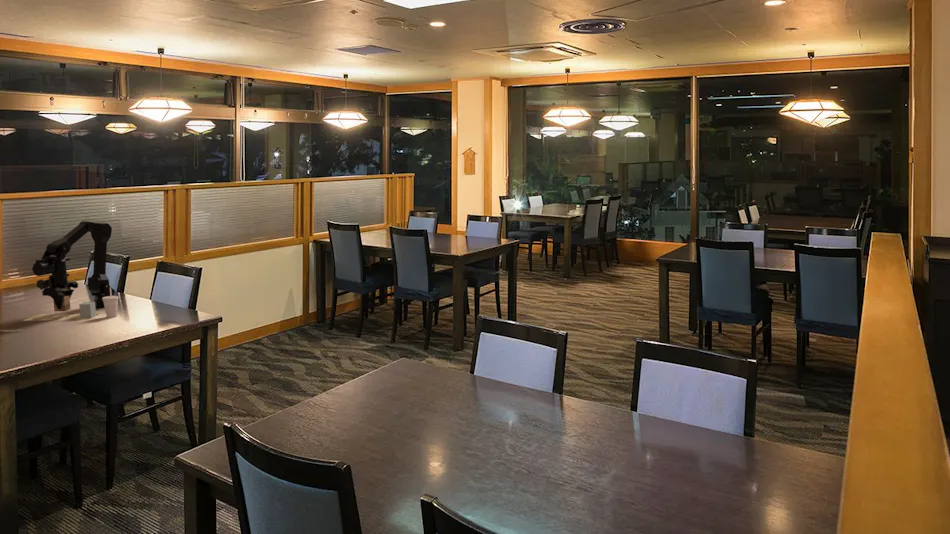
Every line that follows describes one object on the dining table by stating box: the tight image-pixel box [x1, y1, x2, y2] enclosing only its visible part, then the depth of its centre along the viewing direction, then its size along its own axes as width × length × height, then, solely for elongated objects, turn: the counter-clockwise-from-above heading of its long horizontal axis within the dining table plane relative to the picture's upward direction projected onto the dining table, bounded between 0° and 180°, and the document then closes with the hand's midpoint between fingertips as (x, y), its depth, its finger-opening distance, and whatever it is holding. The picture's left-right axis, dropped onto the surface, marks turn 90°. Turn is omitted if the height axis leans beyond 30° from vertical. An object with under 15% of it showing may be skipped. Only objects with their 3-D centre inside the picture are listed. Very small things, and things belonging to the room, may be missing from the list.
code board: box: [22, 313, 100, 322], centre depth 311 cm, size 27×12×1 cm, turn 93°
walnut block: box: [52, 295, 71, 312], centre depth 310 cm, size 4×4×6 cm
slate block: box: [78, 301, 97, 319], centre depth 311 cm, size 4×4×6 cm
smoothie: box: [102, 286, 119, 319], centre depth 310 cm, size 6×6×14 cm
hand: (62, 307), depth 310 cm, fingers closed on walnut block, 4 cm apart
